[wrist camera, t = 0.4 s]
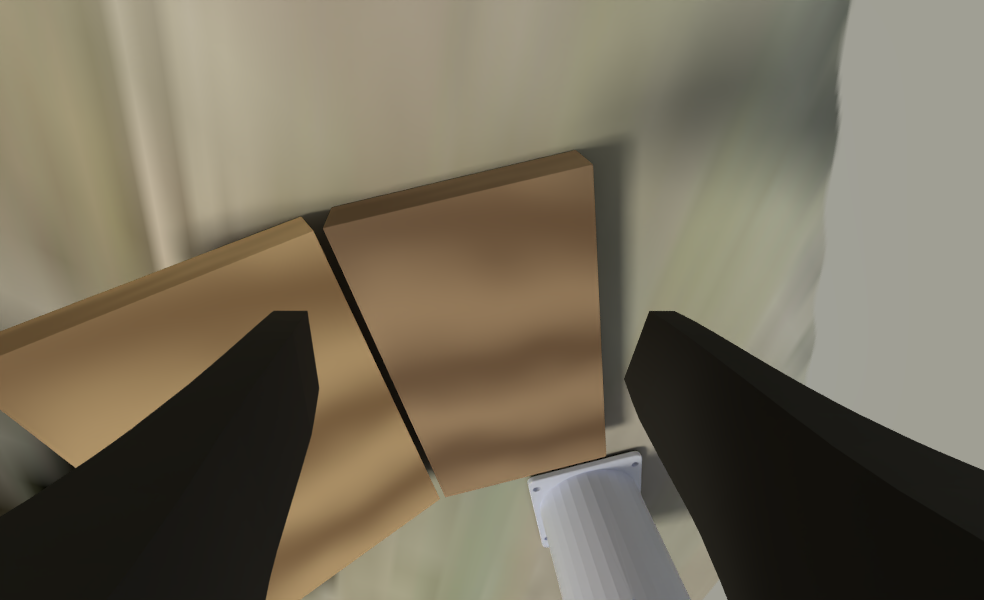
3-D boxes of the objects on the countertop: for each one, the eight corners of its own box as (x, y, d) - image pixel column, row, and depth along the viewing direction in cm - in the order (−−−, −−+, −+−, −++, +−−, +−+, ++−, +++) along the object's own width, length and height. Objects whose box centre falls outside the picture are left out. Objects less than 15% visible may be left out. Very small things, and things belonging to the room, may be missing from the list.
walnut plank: (594, 429, 27) (606, 456, 26) (443, 468, 27) (445, 497, 25) (575, 150, 17) (593, 164, 15) (331, 207, 17) (322, 228, 15)
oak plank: (425, 475, 27) (439, 498, 25) (265, 584, 23) (272, 619, 22) (300, 216, 17) (313, 230, 15) (-21, 339, 13) (-46, 373, 11)
